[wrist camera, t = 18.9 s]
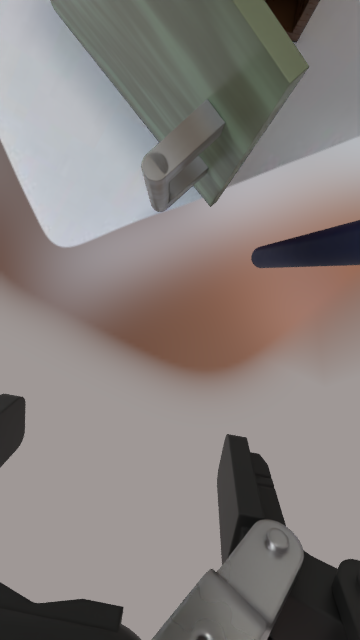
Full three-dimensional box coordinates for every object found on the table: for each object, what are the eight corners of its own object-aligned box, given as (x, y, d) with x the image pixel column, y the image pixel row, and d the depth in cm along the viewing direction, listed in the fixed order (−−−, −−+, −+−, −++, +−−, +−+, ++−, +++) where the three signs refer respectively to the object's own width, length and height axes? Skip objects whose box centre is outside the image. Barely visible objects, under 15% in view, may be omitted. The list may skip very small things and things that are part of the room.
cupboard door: (172, 240, 36) (179, 183, 13) (14, 49, 32) (-395, -536, 9) (216, 201, 35) (309, 66, 12) (61, 3, 32) (-242, -752, 8)
